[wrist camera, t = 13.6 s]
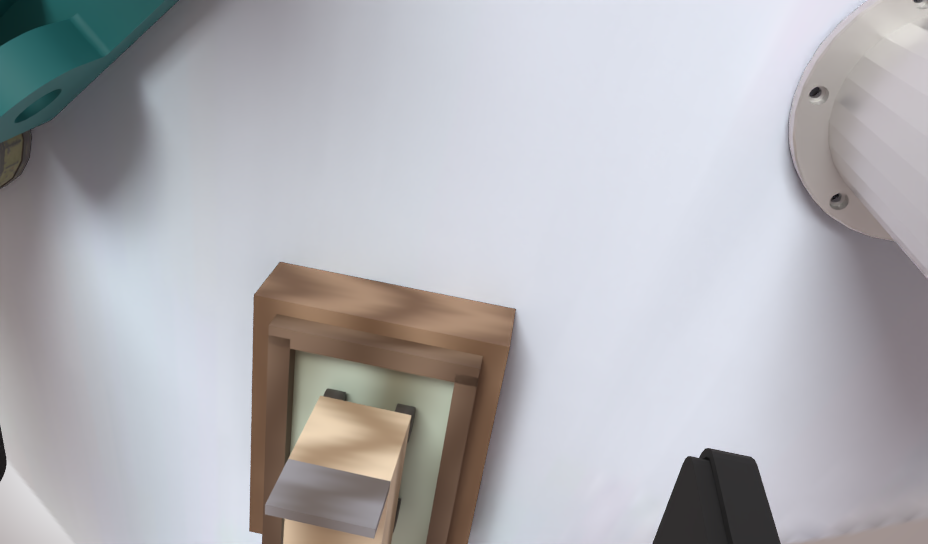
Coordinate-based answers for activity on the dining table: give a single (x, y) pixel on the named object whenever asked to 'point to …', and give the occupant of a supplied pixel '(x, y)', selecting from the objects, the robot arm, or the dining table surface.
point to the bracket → (61, 52)
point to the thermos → (14, 157)
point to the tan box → (343, 474)
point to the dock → (379, 386)
